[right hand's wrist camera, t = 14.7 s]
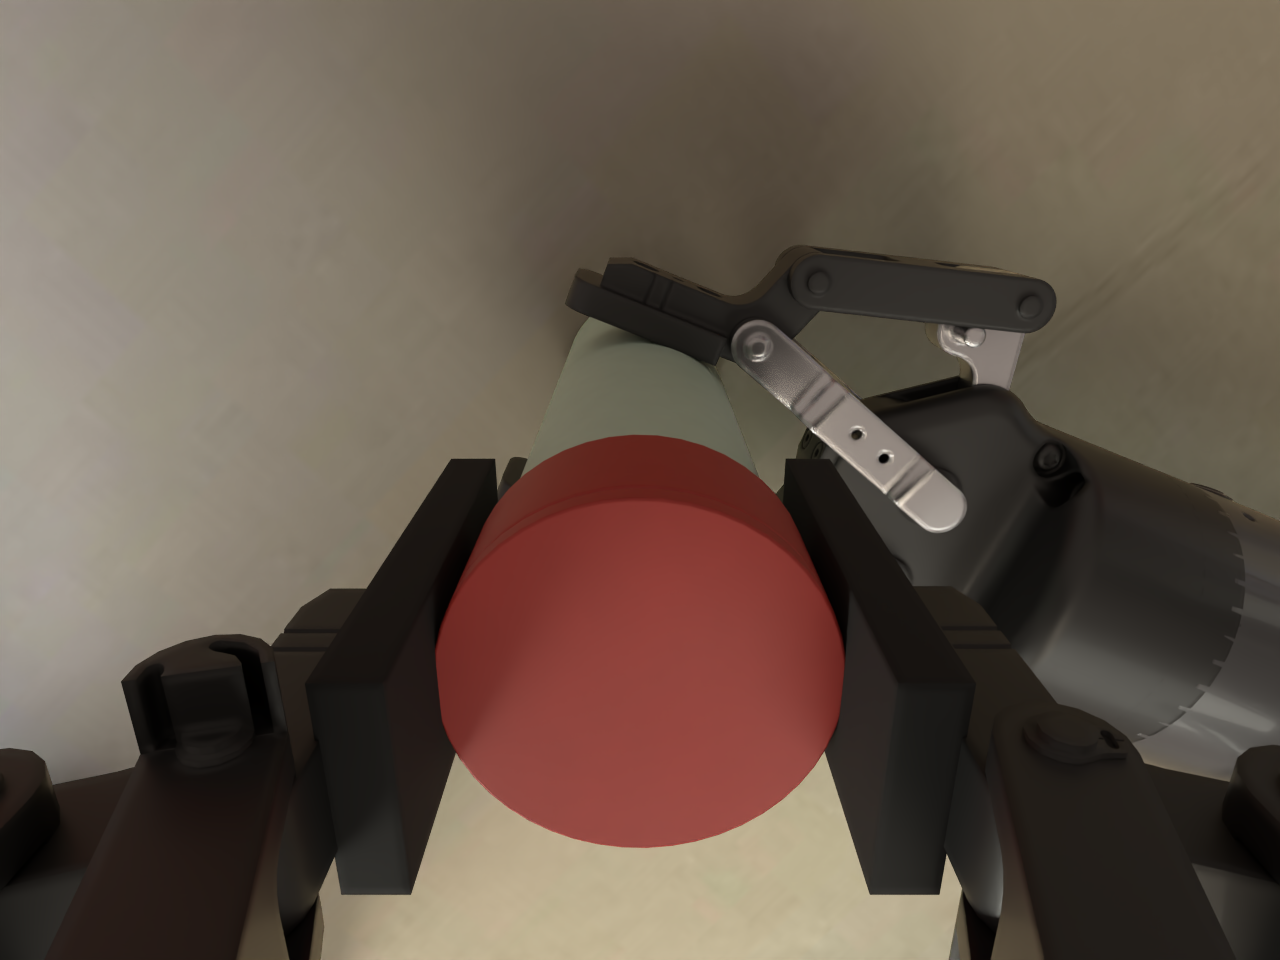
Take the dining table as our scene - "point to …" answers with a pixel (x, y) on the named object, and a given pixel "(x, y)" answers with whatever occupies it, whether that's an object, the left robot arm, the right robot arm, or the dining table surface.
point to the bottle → (636, 397)
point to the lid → (639, 646)
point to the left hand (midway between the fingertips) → (538, 388)
